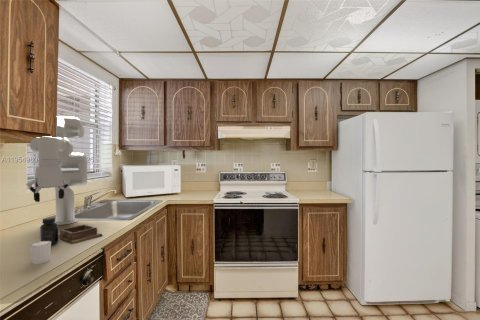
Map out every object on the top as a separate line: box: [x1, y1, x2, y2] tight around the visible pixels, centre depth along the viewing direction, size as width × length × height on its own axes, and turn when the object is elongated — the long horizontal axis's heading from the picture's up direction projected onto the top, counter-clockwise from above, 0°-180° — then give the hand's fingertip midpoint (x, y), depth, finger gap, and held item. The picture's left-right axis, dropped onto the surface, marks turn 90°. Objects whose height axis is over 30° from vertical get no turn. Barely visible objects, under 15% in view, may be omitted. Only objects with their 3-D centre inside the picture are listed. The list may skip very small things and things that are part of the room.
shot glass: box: [28, 241, 52, 265], centre depth 104 cm, size 7×7×7 cm
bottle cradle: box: [58, 223, 103, 244], centre depth 135 cm, size 18×14×4 cm
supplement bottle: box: [39, 216, 59, 246], centre depth 124 cm, size 7×7×12 cm
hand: (49, 199), depth 124 cm, fingers open, 9 cm apart
